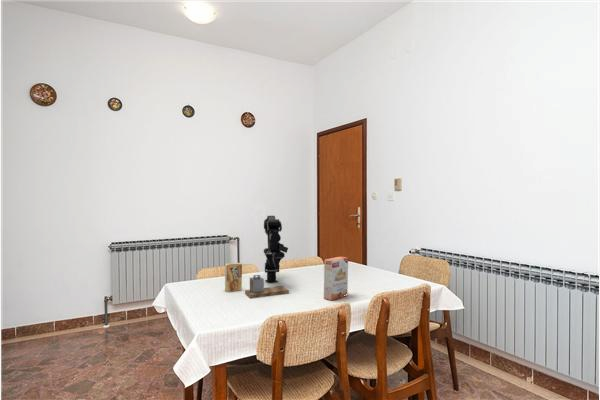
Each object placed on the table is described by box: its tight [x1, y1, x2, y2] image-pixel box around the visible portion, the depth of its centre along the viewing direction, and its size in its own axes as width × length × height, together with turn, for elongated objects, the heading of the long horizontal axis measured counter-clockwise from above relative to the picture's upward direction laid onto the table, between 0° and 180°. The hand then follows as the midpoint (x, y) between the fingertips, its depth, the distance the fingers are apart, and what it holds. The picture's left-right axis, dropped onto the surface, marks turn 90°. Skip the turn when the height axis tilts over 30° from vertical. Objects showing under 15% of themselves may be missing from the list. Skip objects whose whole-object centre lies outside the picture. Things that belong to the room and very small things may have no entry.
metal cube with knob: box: [249, 274, 265, 293], centre depth 194 cm, size 6×6×8 cm
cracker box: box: [323, 256, 349, 301], centre depth 190 cm, size 14×6×21 cm, turn 137°
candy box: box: [224, 262, 243, 293], centre depth 203 cm, size 9×4×15 cm, turn 116°
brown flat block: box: [244, 285, 290, 299], centre depth 197 cm, size 22×10×5 cm, turn 116°
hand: (273, 267), depth 209 cm, fingers open, 9 cm apart
